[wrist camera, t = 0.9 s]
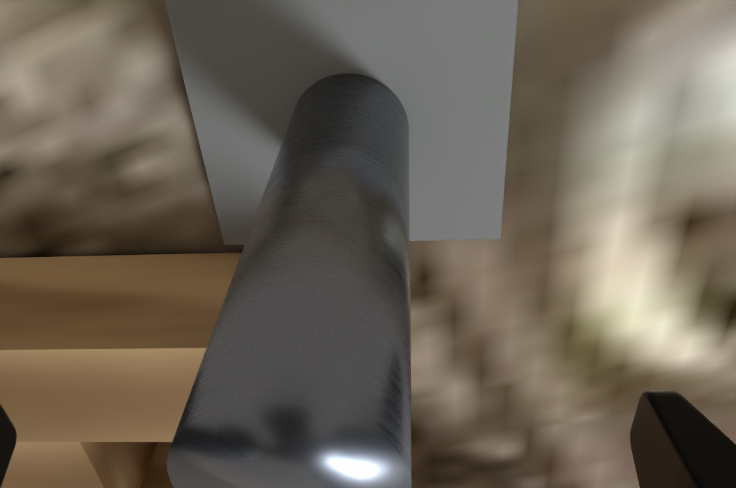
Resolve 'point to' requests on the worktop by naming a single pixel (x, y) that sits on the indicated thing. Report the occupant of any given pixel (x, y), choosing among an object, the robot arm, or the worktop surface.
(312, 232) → the pin
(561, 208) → the worktop surface
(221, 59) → the mat
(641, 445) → the robot arm
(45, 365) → the socket block
